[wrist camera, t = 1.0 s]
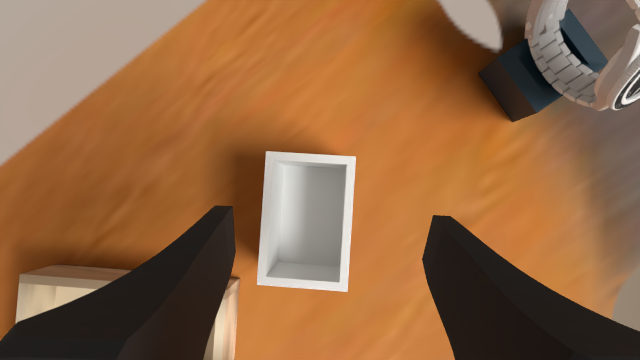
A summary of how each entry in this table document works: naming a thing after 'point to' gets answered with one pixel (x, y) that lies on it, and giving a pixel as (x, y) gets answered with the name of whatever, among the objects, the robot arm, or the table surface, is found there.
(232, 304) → the shallow wooden tray
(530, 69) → the watch
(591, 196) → the table surface
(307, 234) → the small crate
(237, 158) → the table surface
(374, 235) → the table surface
